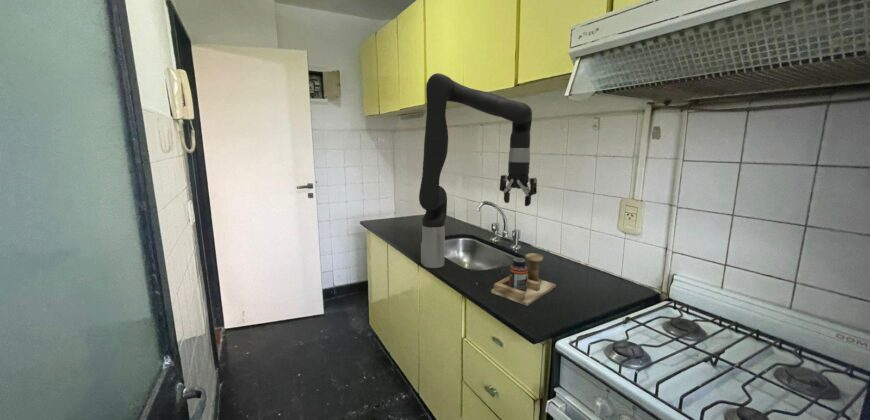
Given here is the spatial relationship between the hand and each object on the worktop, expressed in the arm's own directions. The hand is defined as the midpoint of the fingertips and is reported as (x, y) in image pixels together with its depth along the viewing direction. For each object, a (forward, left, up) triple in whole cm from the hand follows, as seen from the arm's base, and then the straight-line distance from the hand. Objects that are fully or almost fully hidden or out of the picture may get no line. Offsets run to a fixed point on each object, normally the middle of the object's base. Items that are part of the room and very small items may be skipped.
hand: (516, 204), depth 132 cm
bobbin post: (+10, -3, -28) cm, 30 cm away
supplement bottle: (+10, -13, -27) cm, 32 cm away
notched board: (+10, -9, -28) cm, 31 cm away
